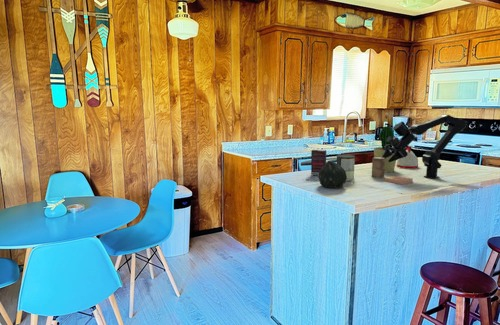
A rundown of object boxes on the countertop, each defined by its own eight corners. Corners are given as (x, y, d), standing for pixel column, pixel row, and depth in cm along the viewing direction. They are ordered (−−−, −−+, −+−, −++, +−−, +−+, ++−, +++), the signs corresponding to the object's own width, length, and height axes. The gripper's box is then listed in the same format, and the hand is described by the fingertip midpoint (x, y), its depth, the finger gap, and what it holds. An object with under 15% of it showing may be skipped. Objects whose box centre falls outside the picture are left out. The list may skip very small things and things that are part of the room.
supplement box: (326, 175, 216) (326, 150, 214) (324, 176, 212) (325, 150, 209) (312, 174, 220) (313, 149, 217) (310, 175, 215) (311, 150, 213)
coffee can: (332, 179, 203) (333, 155, 201) (341, 176, 210) (342, 154, 208) (348, 182, 196) (349, 157, 194) (357, 179, 203) (358, 155, 201)
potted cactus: (400, 170, 230) (403, 125, 225) (392, 173, 219) (395, 126, 214) (377, 167, 240) (380, 124, 235) (368, 170, 229) (371, 125, 224)
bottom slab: (395, 181, 199) (395, 178, 198) (414, 185, 189) (415, 182, 188) (382, 184, 192) (382, 181, 192) (401, 188, 182) (401, 185, 182)
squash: (350, 174, 189) (332, 154, 189) (352, 181, 175) (333, 159, 175) (330, 190, 193) (312, 170, 193) (330, 198, 179) (311, 176, 179)
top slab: (396, 179, 197) (396, 175, 196) (412, 182, 188) (412, 178, 188) (385, 181, 192) (385, 177, 191) (401, 184, 183) (401, 180, 183)
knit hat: (399, 168, 237) (400, 146, 235) (394, 165, 251) (395, 144, 248) (420, 168, 235) (422, 147, 232) (414, 165, 248) (416, 144, 246)
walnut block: (376, 177, 207) (377, 157, 205) (384, 179, 203) (385, 158, 201) (371, 178, 205) (372, 157, 203) (378, 180, 200) (379, 158, 198)
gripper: (388, 130, 209) (369, 149, 210) (403, 133, 191) (383, 153, 192) (399, 143, 211) (381, 161, 212) (416, 147, 193) (396, 166, 194)
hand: (385, 160), depth 202 cm, fingers open, 9 cm apart
